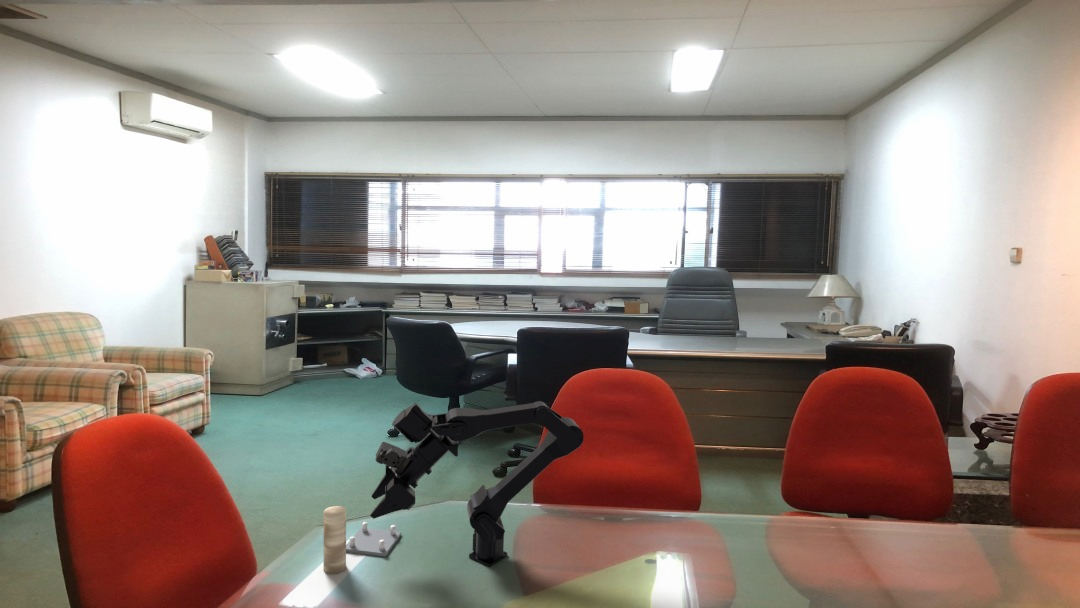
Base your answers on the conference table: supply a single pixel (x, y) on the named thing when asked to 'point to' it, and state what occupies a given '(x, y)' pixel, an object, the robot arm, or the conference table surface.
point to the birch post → (334, 539)
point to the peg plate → (373, 541)
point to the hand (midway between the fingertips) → (372, 507)
